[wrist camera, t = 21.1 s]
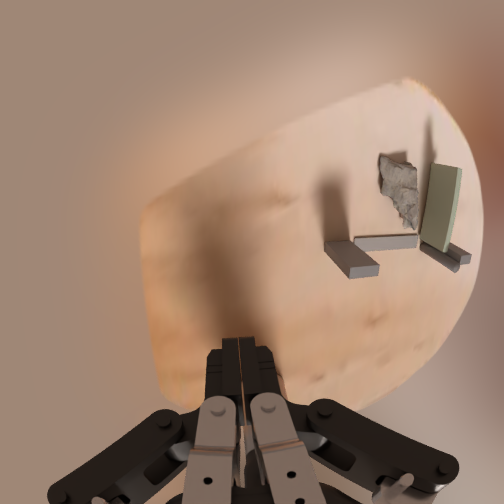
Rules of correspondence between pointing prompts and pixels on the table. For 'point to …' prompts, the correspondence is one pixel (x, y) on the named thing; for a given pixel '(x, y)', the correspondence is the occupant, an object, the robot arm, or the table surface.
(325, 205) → the table surface
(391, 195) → the stone
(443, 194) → the door
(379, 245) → the door frame
